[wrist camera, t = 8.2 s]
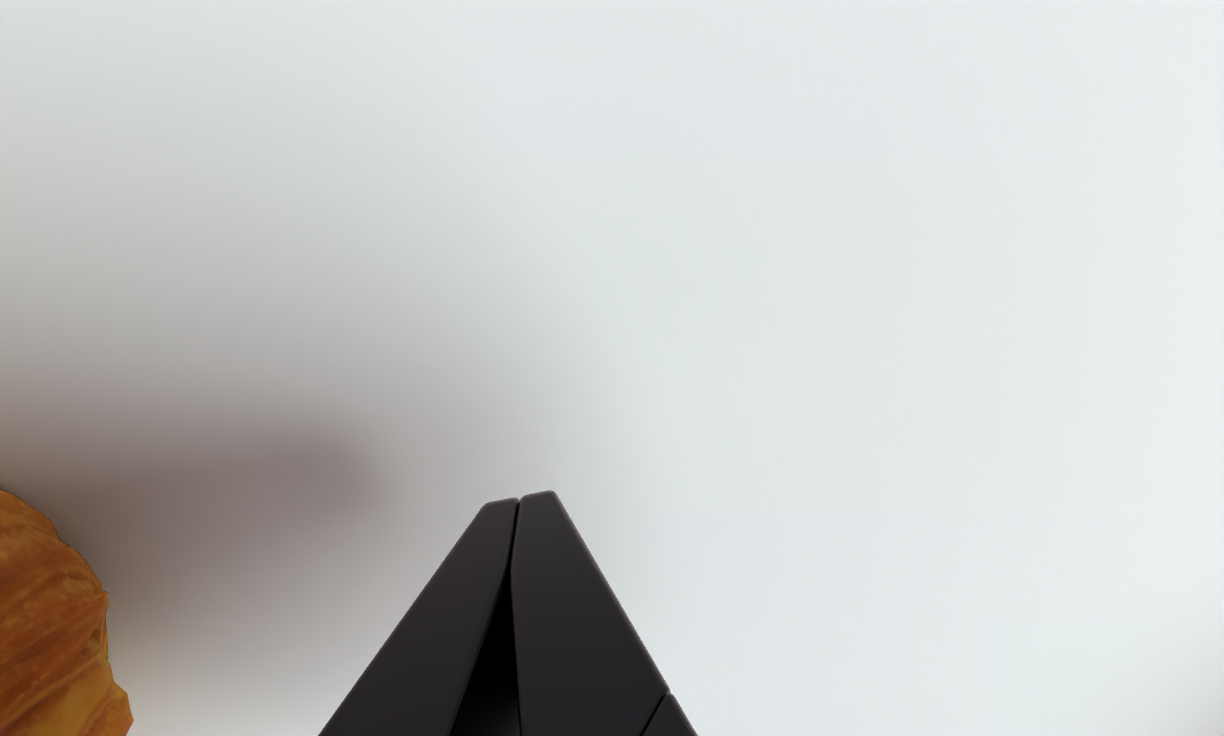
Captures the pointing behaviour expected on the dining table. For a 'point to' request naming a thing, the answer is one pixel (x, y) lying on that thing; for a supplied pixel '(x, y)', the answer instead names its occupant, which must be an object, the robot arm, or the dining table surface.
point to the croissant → (52, 635)
